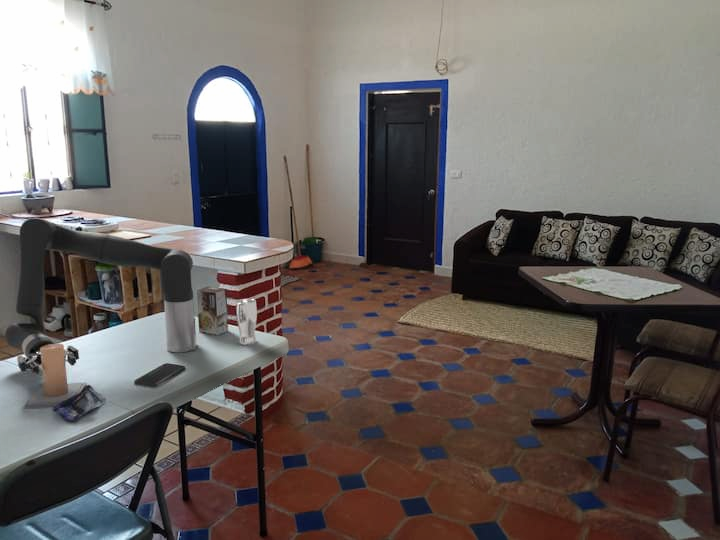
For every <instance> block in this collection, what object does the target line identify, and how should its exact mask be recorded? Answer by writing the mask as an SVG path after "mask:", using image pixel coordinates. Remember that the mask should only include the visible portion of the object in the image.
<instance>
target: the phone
mask: <svg viewBox="0 0 720 540" xmlns="http://www.w3.org/2000/svg"><path fill="white" fill-rule="evenodd" d="M186 368H187V367H186V366H185V365H181V364H176V363H170V362H169V363H164V364H161V365H159V366H157V367H155V368H154V369H152V370H151V371H149V372H147V373H145V374H144V375H142V376H140V377H138V378H136V379H134V382H133V383H134V385H135V386H142V387H148V388H157V387H160V386H161V385H162V384H164V383H166V382H168V381H169V380H171V379H172V378H174V377H176V376H177V375H179V374H181V373H182V372H185V370H186Z"/></svg>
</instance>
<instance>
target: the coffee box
mask: <svg viewBox="0 0 720 540" xmlns="http://www.w3.org/2000/svg"><path fill="white" fill-rule="evenodd" d="M227 295H228V293H227V288H221V287H215V286H214V287H213V286H204V287H202V288H199V289H197V290H196V302H197V303H196V304H197V316H198V317H197V318H198V332H199V331H200V332H199V333H203V332H206V333H205V334H209V333H211V334H210V335H214V334H216V335H215V336H220V335H222V334H224V333H227V332H228V331H229V319H228V318H229V316H228V298H227V297H228V296H227ZM221 333H222V334H221ZM219 334H220V335H219Z"/></svg>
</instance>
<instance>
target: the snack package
mask: <svg viewBox="0 0 720 540" xmlns="http://www.w3.org/2000/svg"><path fill="white" fill-rule="evenodd" d="M105 402H106V399H105V397H103V396H102V395H101V394H100V393H99V392H98V391H96V390H95V389H94V387H93V386H92V385H90V384H87V386H85V387H84V388H83V389H82V391H81V392H80V393H78V394H77V395H74V396H72V397H70V398H68V399H67V400H65V401H62V402H61V403H59V404H58V405H56V406H53V408H52V411H53V413H57V414H59V415H60V416H61V417H62V418H63V419H64V420H65V422H72V423H75V422H77V421H78V420H79V419H80V418H82V416H84V415H86V414H87V412H89V411H91V410H93V409H95V408H98V407H101V406H102V405H104V403H105Z"/></svg>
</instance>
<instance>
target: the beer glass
mask: <svg viewBox="0 0 720 540" xmlns="http://www.w3.org/2000/svg"><path fill="white" fill-rule="evenodd" d="M235 308H236V309H235V310H236V320H237V326H238V330H239V336H238V343H240V345H242V344H243V345H242V346H250V345H254V344H256V343H257V338H256V337H257V336H256V327H257V318H258V311H257V310H258V308H257V301H256V299H254V298H241V299H238V300H236V307H235Z"/></svg>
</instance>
